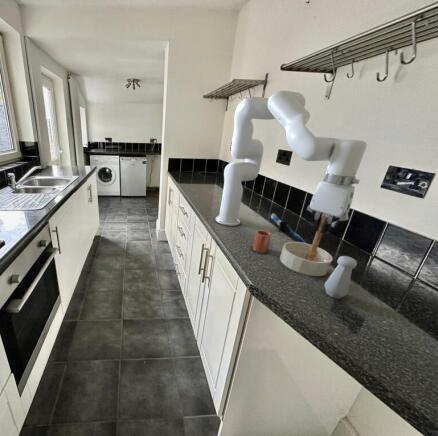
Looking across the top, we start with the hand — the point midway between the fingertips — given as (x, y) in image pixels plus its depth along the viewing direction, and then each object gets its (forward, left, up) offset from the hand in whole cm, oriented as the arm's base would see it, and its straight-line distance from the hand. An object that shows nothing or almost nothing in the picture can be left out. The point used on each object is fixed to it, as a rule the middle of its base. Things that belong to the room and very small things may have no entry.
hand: (320, 231), depth 81 cm
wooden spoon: (0, 0, -13) cm, 13 cm away
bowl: (0, -2, -14) cm, 15 cm away
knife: (-28, +9, -15) cm, 33 cm away
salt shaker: (+16, -3, -15) cm, 22 cm away
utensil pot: (-11, -13, -14) cm, 23 cm away
